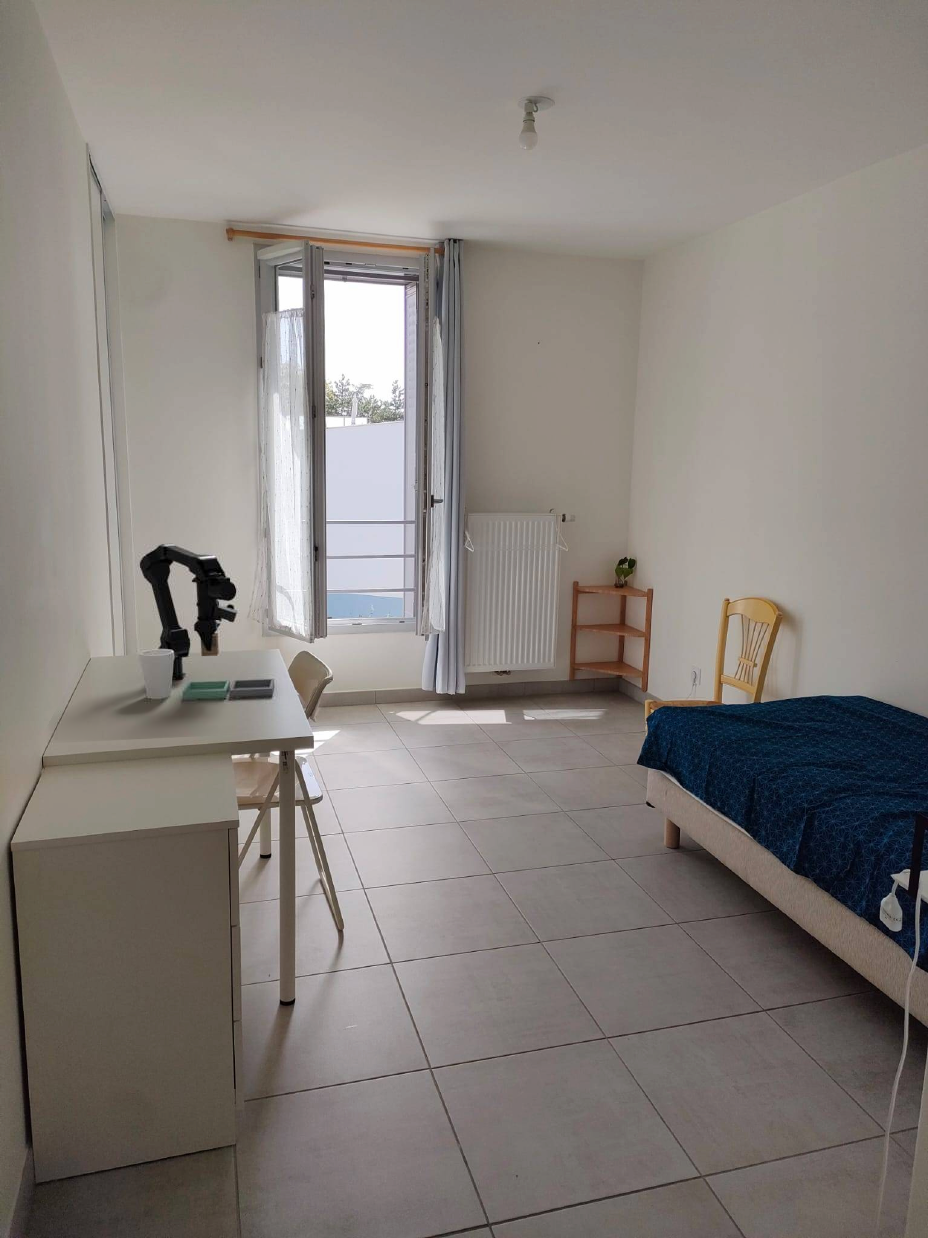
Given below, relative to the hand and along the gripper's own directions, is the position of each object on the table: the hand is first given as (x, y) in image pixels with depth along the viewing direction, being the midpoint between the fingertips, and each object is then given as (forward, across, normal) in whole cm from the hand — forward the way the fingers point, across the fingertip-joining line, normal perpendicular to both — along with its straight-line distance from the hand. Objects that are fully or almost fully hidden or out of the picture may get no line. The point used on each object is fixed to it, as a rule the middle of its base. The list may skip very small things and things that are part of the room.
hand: (209, 649), depth 264 cm
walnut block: (+2, 0, 0) cm, 2 cm away
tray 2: (+12, -10, -13) cm, 20 cm away
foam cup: (+12, -9, +14) cm, 20 cm away
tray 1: (+12, -10, 0) cm, 15 cm away
